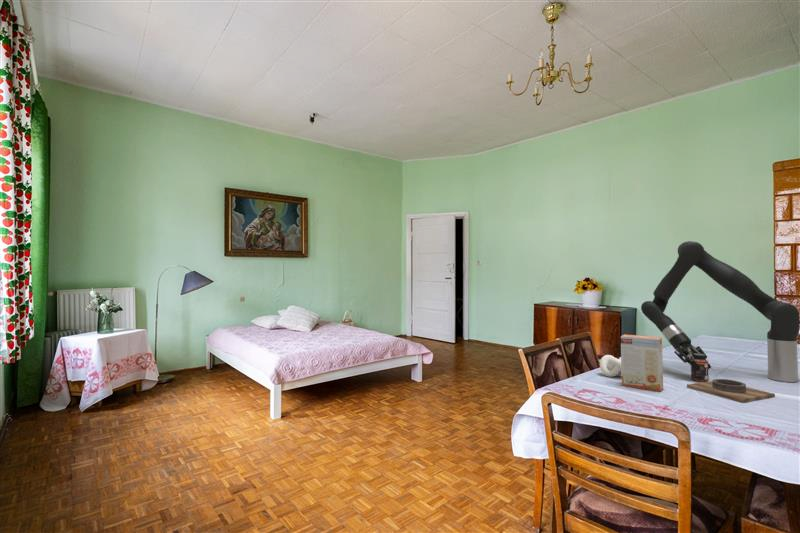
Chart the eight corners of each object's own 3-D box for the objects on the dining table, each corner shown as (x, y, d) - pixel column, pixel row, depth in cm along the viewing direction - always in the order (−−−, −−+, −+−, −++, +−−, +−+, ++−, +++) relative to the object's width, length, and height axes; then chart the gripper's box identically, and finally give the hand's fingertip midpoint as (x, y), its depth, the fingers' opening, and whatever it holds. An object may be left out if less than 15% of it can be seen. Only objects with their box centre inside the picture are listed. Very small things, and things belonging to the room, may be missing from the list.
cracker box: (663, 388, 161) (662, 337, 161) (660, 392, 157) (659, 339, 157) (625, 382, 171) (624, 333, 171) (621, 385, 166) (620, 335, 166)
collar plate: (717, 382, 168) (717, 373, 168) (774, 396, 149) (774, 387, 149) (686, 387, 162) (686, 378, 162) (742, 402, 143) (742, 392, 143)
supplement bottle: (711, 382, 168) (711, 355, 168) (695, 382, 169) (695, 355, 170) (703, 378, 174) (703, 352, 174) (688, 378, 175) (688, 352, 175)
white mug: (638, 379, 175) (637, 358, 175) (613, 380, 173) (612, 360, 174) (620, 372, 186) (619, 353, 187) (596, 374, 185) (596, 354, 185)
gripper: (670, 333, 177) (698, 365, 165) (693, 330, 181) (722, 362, 170) (659, 343, 182) (686, 375, 170) (681, 340, 186) (709, 372, 175)
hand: (703, 369), depth 170 cm, fingers closed on supplement bottle, 6 cm apart
